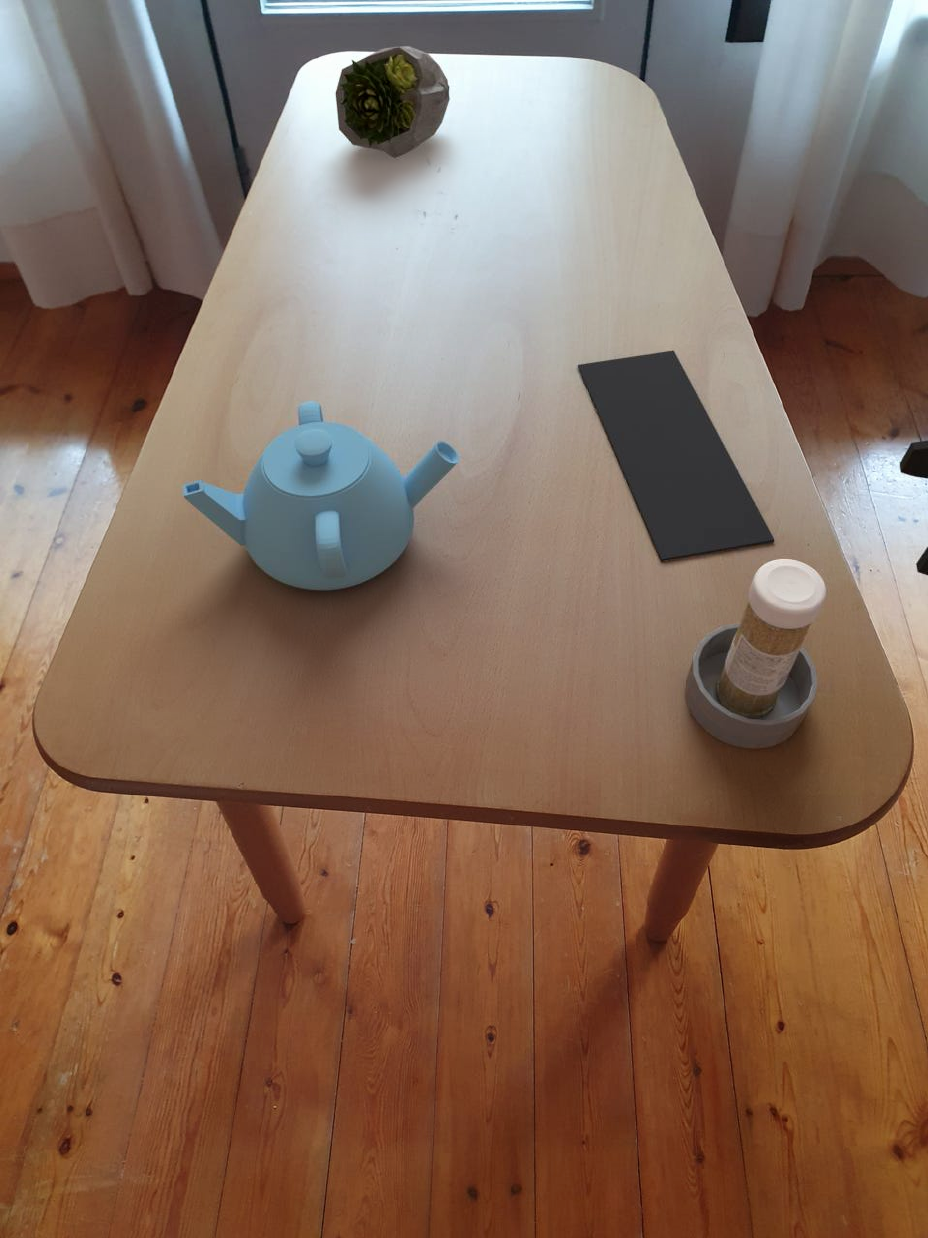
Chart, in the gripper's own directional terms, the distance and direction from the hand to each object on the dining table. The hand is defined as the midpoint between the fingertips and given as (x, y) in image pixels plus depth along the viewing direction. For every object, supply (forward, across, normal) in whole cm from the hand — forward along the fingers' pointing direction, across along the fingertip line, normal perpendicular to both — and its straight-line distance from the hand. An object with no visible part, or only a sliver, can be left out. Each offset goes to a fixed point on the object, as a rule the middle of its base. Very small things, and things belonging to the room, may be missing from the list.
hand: (914, 505), depth 55 cm
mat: (+11, -24, +22) cm, 34 cm away
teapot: (+39, -10, +22) cm, 46 cm away
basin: (+5, +3, +20) cm, 21 cm away
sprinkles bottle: (+5, +3, +20) cm, 21 cm away
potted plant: (+45, -76, +26) cm, 92 cm away
